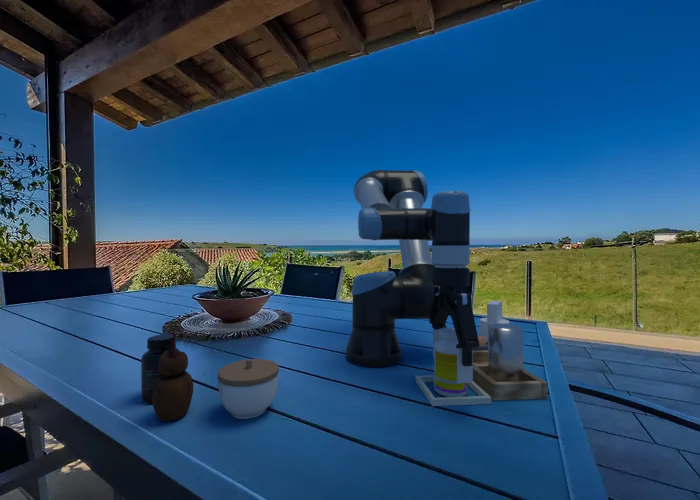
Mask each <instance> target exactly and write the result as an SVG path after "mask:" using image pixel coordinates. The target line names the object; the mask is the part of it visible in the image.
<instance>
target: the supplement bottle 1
mask: <svg viewBox="0 0 700 500" xmlns="http://www.w3.org/2000/svg"><path fill="white" fill-rule="evenodd" d="M172 341H173V333H172V334H171V333H170V334H169V333H168V334H167V333H165V334H156V335H152V336H150V337H148V338H147V341H146V342H147V344H146V349H147V351H145V352H144V353H143V354H142V356H141V361H140V366H141V368H140V371H141V373H140V376H141V377H140V378H141V379H140V380H141V382H140V384H141V388H140V390H141V391H140V393H141V395H140V396H141V400H142V402H143V403H144V404H145V403H146V404H151V405H153V403H152V394H153V389H154V386H155V383H156V382H157V380H158V379H159V377H161V376H162V375H161V374H160V373H159V369H158V365H159V360H160V358H161V356H162V355H164V354H166V353H169V352H172ZM176 351H180V350H179V348H177V347H176Z"/></svg>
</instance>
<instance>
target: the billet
mask: <svg viewBox="0 0 700 500" xmlns="http://www.w3.org/2000/svg"><path fill="white" fill-rule="evenodd" d="M523 369H524V328H523V326H519V325H516V324H511V323H510V324H502V323H495V324H489V325H488V376H490V377H491V378H492V379H493V380H495V381H496V382H513V381H523Z"/></svg>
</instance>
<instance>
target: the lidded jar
mask: <svg viewBox="0 0 700 500" xmlns="http://www.w3.org/2000/svg"><path fill="white" fill-rule="evenodd" d="M279 372H280V366H279V364H278V363H277V362H275V361H274V360H270V359H264V358H262V359H261V358H247V359H243V360H238V361H234V362H231V363H227V364H226V365H224V366H223V367H221V368H220V369H219V370H218V371H217V380H218V383H217V384H218V386H217V387H218V395H219V398H220V402H221V404H222V406H223V407H224V409H225V410H226V411H227V412H228V413H230V414H231V416H232V417H234V418H235V419H238V420H250V419H254V418H257V417H259V416H261V415H262V414H264V413H265V412H266V411H267V409H268V407H270V405H271V404H272V403H273V401H274V399H275V397H276V395H277V391H278V384H279Z"/></svg>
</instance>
